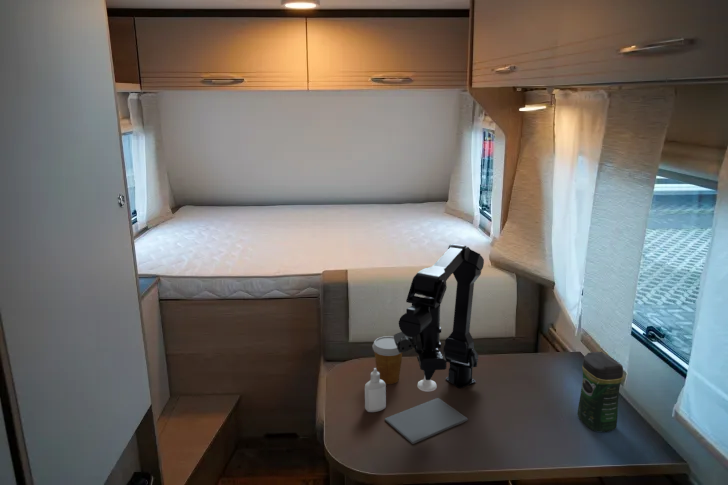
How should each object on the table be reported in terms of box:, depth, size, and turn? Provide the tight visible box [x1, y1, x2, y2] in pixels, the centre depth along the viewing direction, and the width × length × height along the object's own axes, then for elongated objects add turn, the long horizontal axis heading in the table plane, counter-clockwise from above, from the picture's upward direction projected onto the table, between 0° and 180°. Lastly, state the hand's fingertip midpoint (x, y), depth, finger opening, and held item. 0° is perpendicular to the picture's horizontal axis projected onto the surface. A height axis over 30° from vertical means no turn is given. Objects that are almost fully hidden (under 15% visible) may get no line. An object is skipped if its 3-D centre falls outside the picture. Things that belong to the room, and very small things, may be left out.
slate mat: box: [384, 397, 468, 445], centre depth 142 cm, size 18×12×1 cm, turn 122°
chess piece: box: [417, 375, 438, 393], centre depth 138 cm, size 5×5×10 cm
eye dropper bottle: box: [364, 367, 387, 413], centre depth 146 cm, size 4×6×12 cm
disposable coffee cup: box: [371, 335, 404, 385], centre depth 161 cm, size 10×10×12 cm
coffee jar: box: [576, 351, 624, 433], centre depth 138 cm, size 10×8×19 cm
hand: (427, 377), depth 139 cm, fingers closed on chess piece
